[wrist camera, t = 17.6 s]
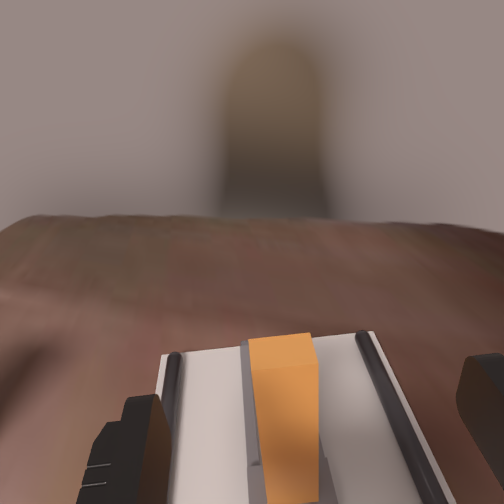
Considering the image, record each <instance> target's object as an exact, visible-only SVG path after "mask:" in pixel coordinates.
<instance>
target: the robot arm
mask: <svg viewBox="0 0 504 504" xmlns="http://www.w3.org/2000/svg"><path fill="white" fill-rule="evenodd" d="M456 403H457V408H458V411H459V414H460V416H461V418H462V420H463V422H464V424H465V425H466V427H467V429H468V430H469V432H470V434H471V435H472V437H473V439H474V441H475V442H476V444H477V446H478V447H479V449H480V451H481V452H482V454H483V456H484V458H485V459H486V461H487V463H488V464H489V466H490V468H491V469H492V471H493V473H494V475H495V476H496V478H497V480H498V481H499V483H500V485H501V486H502V488H503V490H504V356H503V355H502V354H499V353H492V354H484V355H476V356H469V357H467V358H466V359H465V362H464V366H463V369H462V373H461V377H460V381H459V385H458V389H457V393H456ZM171 453H172V441H171V432H170V428H169V425H168V422H167V419H166V416H165V413H164V410H163V407H162V404H161V401H160V398H159V396H158V394H152V395H143V396H135V397H129V398H127V400H126V402H125V405H124V409H123V413H122V417H121V421H115V422H107V423H106V425H105V426H104V428H103V429H102V431H101V432H100V434H99V435H98V437H97V438H96V439H95V441H94V442H93V445H92V449H91V453H90V456H89V460H88V463H87V470H85V474H84V477H83V481H82V488H81V489H80V491H79V495H78V498H77V502H76V504H166V502H167V492H168V483H169V473H170V463H171Z"/></svg>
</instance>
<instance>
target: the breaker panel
mask: <svg viewBox="0 0 504 504" xmlns="http://www.w3.org/2000/svg"><path fill="white" fill-rule="evenodd" d="M312 342H313V345H314V349H315V352H316V356H317V359H318V363H319V458H325V457H327V459H328V463H329V468H330V472H331V476H332V480H333V484H334V488H335V492H336V496H337V500H338V504H457V503H456V501H455V499H454V497H453V495H452V493H451V491H450V489H449V487H448V485H447V483H446V481H445V478H444V476H443V474H442V472H441V470H440V468H439V466H438V464H437V462H436V460H435V458H434V456H433V454H432V452H431V450H430V447H429V445H428V443H427V441H426V439H425V437H424V435H423V433H422V431H421V429H420V427H419V425H418V423H417V421H416V419H415V417H414V414H413V412H412V410H411V408H410V406H409V404H408V402H407V400H406V398H405V396H404V394H403V392H402V390H401V388H400V386H399V384H398V381H397V379H396V377H395V375H394V373H393V371H392V369H391V367H390V365H389V363H388V361H387V359H386V357H385V355H384V353H383V350H382V348H381V346H380V344H379V342H378V340H377V338H376V336H375V334H374V332H373V331H369V332H366V331H363V330H361V331H358V332H357V333H351V334H342V335H334V336H325V337H316V338H312ZM155 394H158V396H159V398H160V401H161V404H162V407H163V410H164V413H165V416H166V419H167V422H168V425H169V428H170V432H171V441H172V453H171V463H170V473H169V483H168V492H167V502H166V504H249V497H248V481H247V467H249V466H258V465H263V463H262V455H261V447H260V439H259V431H258V423H257V415H256V406H255V398H254V390H253V382H252V374H251V364H250V353H249V342H248V340H247V341H241V346H237V347H228V348H220V349H211V350H202V351H193V352H185V353H179V352H172V353H170V354H167V355H162V356H161V362H160V368H159V375H158V381H157V387H156V393H155Z"/></svg>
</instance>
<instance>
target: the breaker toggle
mask: <svg viewBox="0 0 504 504" xmlns="http://www.w3.org/2000/svg"><path fill="white" fill-rule="evenodd" d="M248 342H249V353H250V364H251V374H252V382H253V390H254V398H255V406H256V415H257V423H258V431H259V439H260V447H261V455H262V463H263V465H258V466H249V467H247V481H248V497H249V504H338V500H337V496H336V492H335V488H334V484H333V480H332V476H331V472H330V468H329V463H328V459H327V457H325V458H319V363H318V359H317V356H316V352H315V349H314V345H313V342H312V338H311V335H310V332H309V333H301V334H292V335H283V336H274V337H265V338H257V339H248Z"/></svg>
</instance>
